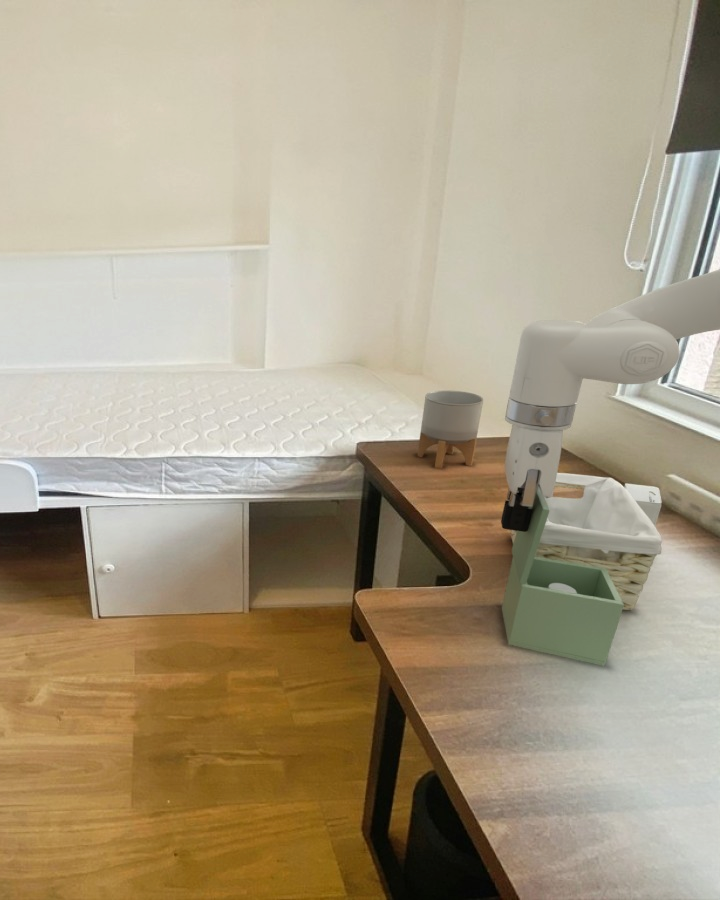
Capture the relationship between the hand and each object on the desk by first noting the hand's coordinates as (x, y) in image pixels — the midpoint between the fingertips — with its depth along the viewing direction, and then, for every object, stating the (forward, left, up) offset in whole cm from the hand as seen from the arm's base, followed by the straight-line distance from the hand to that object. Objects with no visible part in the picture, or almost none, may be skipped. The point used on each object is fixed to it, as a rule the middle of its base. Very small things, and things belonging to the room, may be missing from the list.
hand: (513, 527), depth 83 cm
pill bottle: (-8, 0, -17) cm, 19 cm away
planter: (+6, -70, -18) cm, 72 cm away
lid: (-2, 0, 0) cm, 2 cm away
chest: (-7, 0, -18) cm, 19 cm away
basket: (-12, -21, -18) cm, 30 cm away
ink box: (-24, -34, -18) cm, 46 cm away
